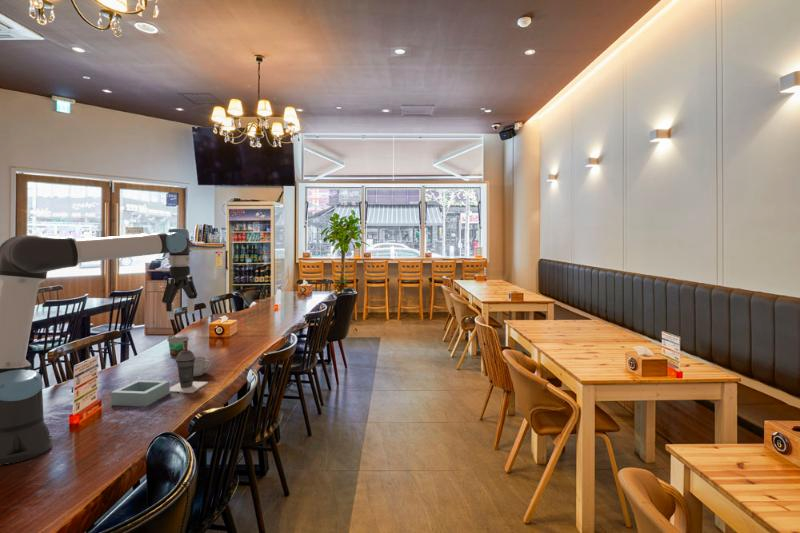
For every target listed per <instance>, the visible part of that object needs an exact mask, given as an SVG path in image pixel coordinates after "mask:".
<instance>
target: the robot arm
mask: <svg viewBox="0 0 800 533" xmlns="http://www.w3.org/2000/svg"><path fill="white" fill-rule="evenodd" d="M159 254H162V255H163V254H168V260H169V261H168V263H169V265H170V266H169V275H170V276H171V278H167V279H166V286H165V288H164V292H163V294H162V295H163V296H162V299H161V302H162V303H163V304H166V306H165V309H166V311H165V312H166V320H175V303H174V301H175V300H174V299H175V297H176V296H177V293H178V291H179V290H180V289H182V290H183V291H184V293H185V295H186V297H187V298H186V312H187V314H188V315H193V314H195V299H197V297H198V292H197V290H196V287H195V284H194V281H193V280H194V279H193V276H192V275H190V274H191V267H190V262H191V261H190V233H189V230H188V229H187V228H169V229H168V232H140V233H138V234H132V235H120V236H119V235H118V236H105V237H92V238H91V237H90V238H78V239H77V238H76V239H75V238H74V236H48V235H47V236H46V235H36V234H35V235H34V234H33V235H25V234H21V235H16V236H11V237H10V238H8V239H6V240H4V241H3V242H2V243H1V244H0V280H1V281H2V285H1V290H0V464H6V463H13V464H15V463H14V462H18V461H21V462H24V461H23V460H25V461H27V460H26V459H28V460H31V459H34V458H36V457H38V456H40V455H42V454H44V453H46V452H47V451H49V450H50V449H51V448H52V447H53V441H54V440H53V436H52V434H51V433H50V430H49V428H48V426H47V425H46V423H45V419H44V418H45V417H44V398H43V385H44V384H43V383H44V382H43V379H42V375H41V373H40V372H38V371H36V370H33V369H31V366H32V363H30V361H29V360H27V358H26V357H27V354H28V353H27V352H28V349H29V348H28V347H29V341H30V336H31V330H32V324H33V319H34V314H35V309H36V302H37V298H38V291H39V286H40V284H41V283H43V282H45V281H46V280H47V276H48V275H47V274H48V272H51V271H55V270H61V269H66V268H73V267H77V266H78V265H79V264H81V263H88V262H89V263H90V262H98V261H107V260H115V259H116V260H117V259H124V258H133V257H141V256H151V255H159ZM30 458H31V459H30ZM18 463H19V462H18Z"/></svg>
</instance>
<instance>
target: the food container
mask: <svg viewBox="0 0 800 533" xmlns="http://www.w3.org/2000/svg"><path fill="white" fill-rule="evenodd" d="M166 340H167V342H168V347H169V355H170V356H171V355H173V356H172V357H177V355H178V354H179V353H180V352H181V351H183V345H182V340H183V342H184V349H185V350H188V344H189V343H188V342H189V341H190V339H189V336H188V335H187V336H173V335H172V334H170V335H168V337H167V339H166Z"/></svg>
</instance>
